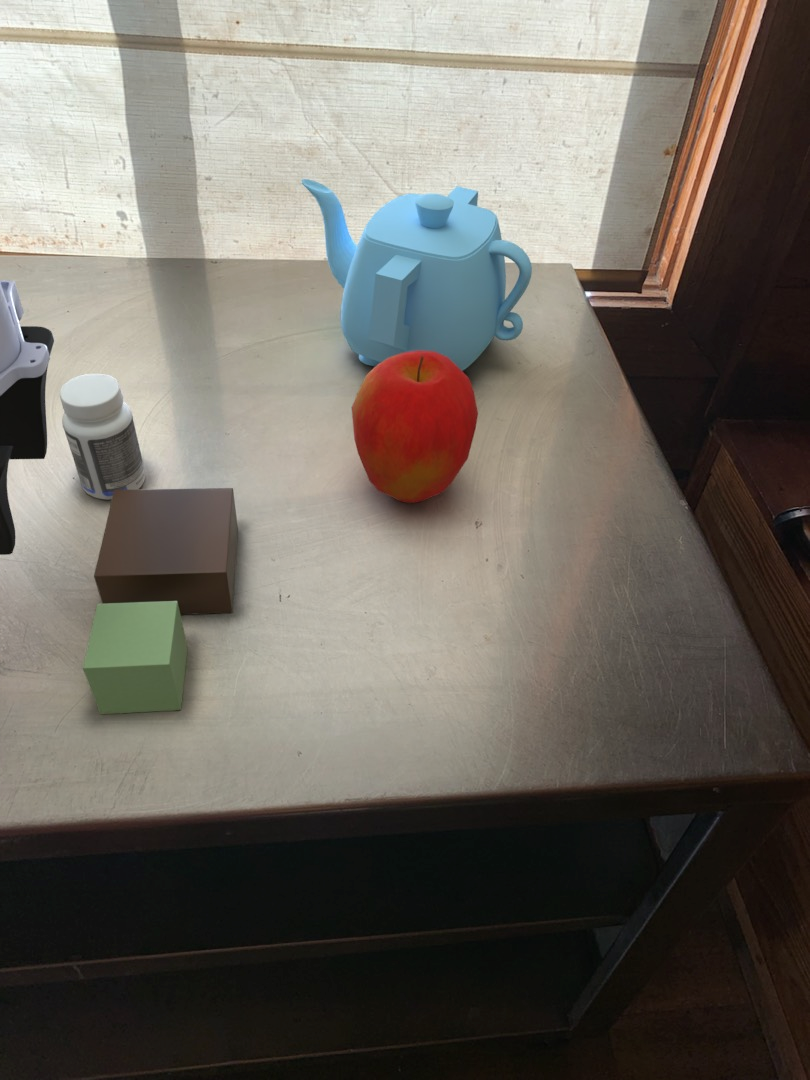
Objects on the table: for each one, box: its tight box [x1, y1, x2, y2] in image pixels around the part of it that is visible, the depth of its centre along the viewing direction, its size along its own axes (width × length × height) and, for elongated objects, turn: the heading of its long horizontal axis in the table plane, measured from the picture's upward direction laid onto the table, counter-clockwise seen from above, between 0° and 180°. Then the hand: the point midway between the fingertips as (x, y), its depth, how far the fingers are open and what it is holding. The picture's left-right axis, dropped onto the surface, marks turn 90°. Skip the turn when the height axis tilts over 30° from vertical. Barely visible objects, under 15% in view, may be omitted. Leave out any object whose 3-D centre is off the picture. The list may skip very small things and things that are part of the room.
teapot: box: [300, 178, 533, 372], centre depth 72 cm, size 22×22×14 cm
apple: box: [351, 351, 479, 504], centre depth 58 cm, size 9×9×12 cm
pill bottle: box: [59, 372, 146, 501], centre depth 57 cm, size 5×5×8 cm
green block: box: [82, 601, 189, 715], centre depth 46 cm, size 5×5×5 cm
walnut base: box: [93, 487, 239, 616], centre depth 53 cm, size 8×8×4 cm
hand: (11, 500), depth 43 cm, fingers open, 7 cm apart
